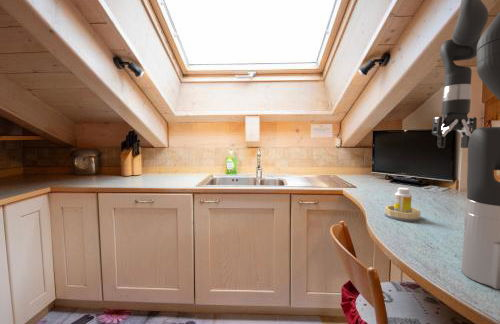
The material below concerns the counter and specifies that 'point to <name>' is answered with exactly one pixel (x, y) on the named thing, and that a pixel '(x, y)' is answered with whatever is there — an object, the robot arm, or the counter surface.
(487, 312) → the counter surface
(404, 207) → the supplement bottle
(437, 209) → the counter surface
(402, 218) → the tan faceted ring
